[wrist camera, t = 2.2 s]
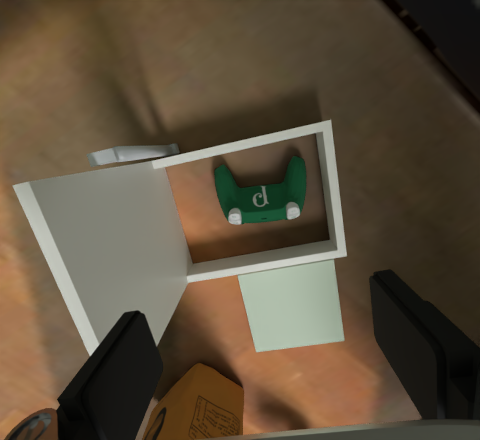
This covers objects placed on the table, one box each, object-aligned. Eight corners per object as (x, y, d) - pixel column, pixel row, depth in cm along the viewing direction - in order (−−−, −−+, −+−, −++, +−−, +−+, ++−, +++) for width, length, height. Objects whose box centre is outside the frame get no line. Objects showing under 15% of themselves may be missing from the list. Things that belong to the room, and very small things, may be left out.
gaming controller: (220, 184, 30) (220, 231, 27) (212, 162, 27) (212, 213, 24) (301, 174, 29) (310, 222, 26) (303, 151, 26) (314, 202, 23)
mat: (332, 257, 30) (333, 259, 29) (342, 337, 33) (344, 340, 32) (237, 273, 31) (237, 275, 30) (256, 348, 34) (256, 352, 33)
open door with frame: (321, 109, 25) (434, 50, 9) (337, 245, 29) (439, 373, 13) (152, 149, 28) (0, 158, 11) (188, 270, 31) (113, 409, 15)
